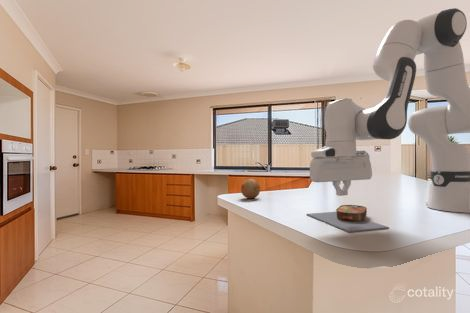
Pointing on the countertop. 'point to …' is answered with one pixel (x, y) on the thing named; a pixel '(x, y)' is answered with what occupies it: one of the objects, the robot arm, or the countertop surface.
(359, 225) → the rubber mat
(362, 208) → the tin
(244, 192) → the onion
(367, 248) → the countertop surface
